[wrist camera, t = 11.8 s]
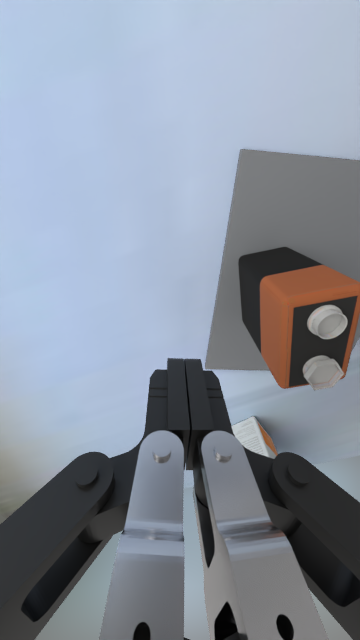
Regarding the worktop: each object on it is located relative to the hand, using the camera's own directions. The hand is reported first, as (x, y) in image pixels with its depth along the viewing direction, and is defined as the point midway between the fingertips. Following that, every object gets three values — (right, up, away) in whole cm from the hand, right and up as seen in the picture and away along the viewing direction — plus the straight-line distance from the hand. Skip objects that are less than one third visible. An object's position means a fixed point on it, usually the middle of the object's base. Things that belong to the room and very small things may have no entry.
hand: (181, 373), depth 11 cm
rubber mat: (+11, +6, +11) cm, 17 cm away
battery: (+8, +6, +10) cm, 14 cm away
